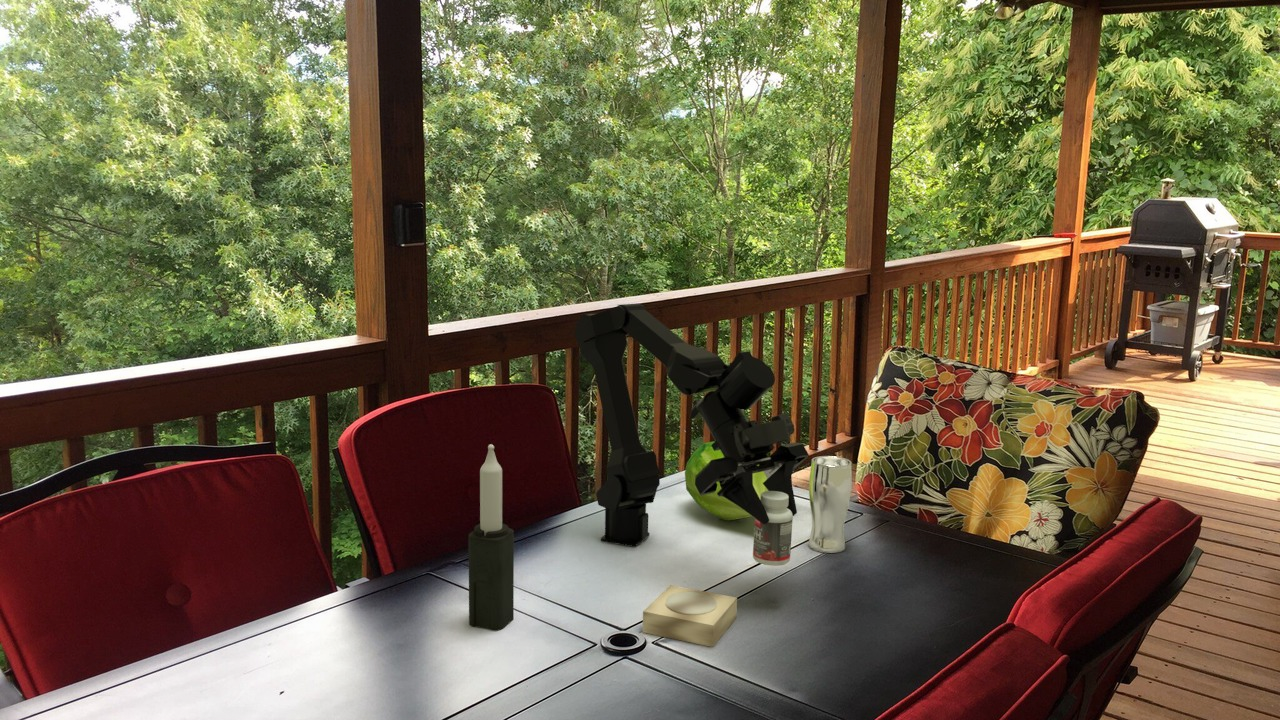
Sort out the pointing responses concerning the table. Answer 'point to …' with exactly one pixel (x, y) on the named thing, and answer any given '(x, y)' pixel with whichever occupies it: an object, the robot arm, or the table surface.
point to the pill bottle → (773, 530)
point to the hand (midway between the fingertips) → (780, 518)
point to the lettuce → (713, 501)
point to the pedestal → (690, 615)
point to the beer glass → (829, 502)
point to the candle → (491, 555)
